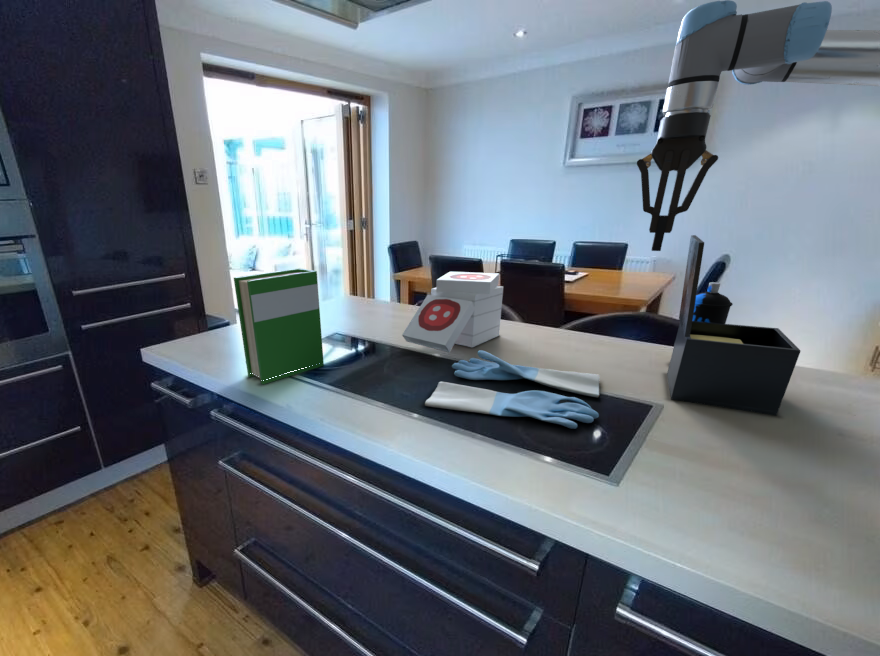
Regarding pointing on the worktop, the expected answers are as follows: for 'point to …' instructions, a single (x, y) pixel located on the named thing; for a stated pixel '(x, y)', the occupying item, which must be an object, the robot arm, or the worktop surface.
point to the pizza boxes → (458, 312)
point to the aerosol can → (711, 306)
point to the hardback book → (280, 322)
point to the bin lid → (691, 283)
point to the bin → (732, 367)
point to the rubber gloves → (521, 403)
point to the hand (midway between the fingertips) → (655, 250)
